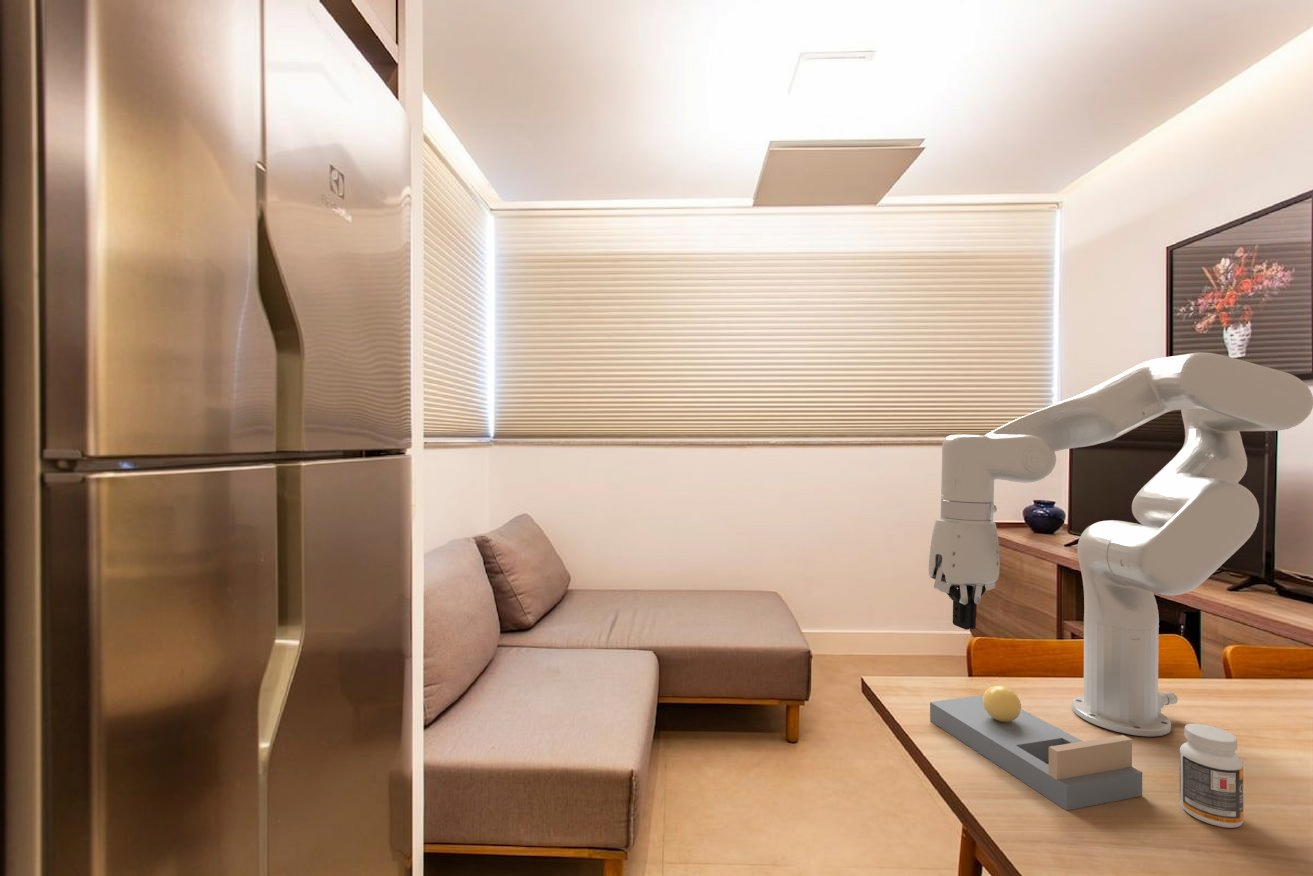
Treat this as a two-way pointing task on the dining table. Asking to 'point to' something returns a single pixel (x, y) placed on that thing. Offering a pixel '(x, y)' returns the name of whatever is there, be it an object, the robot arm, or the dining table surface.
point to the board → (1044, 754)
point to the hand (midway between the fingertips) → (963, 626)
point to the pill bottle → (1211, 776)
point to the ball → (1001, 703)
